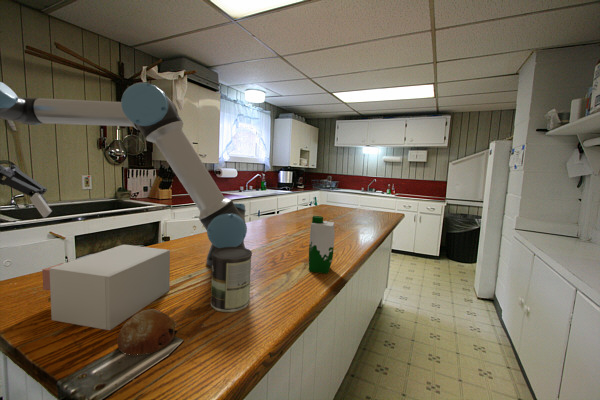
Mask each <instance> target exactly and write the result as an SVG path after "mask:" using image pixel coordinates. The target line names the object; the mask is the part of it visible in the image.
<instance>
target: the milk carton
mask: <svg viewBox="0 0 600 400" xmlns="http://www.w3.org/2000/svg"><path fill="white" fill-rule="evenodd" d="M335 231H336V230H335V222H334V221H327V220H324V216H321V215H313V216H312V219H311V223H310V231H309V246H308V272H311V273H319V274H324V273H325V274H324V275H328V274H329V272H330V268H331V265H332V261H333V258H334V248H335Z"/></svg>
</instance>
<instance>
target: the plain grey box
mask: <svg viewBox="0 0 600 400" xmlns="http://www.w3.org/2000/svg"><path fill="white" fill-rule="evenodd" d="M91 254H92V255H89V254H88V255H89V256H86V255H85V256H86V257H83V256H82V257H83V258H80V257H79V258H80V259H77V258H76V259H77V260H76V259H74V260H71V261H68V262H65V263H64V264H61V263H60V264H61V265H58V264H57V265H58V266H55V265H54V266H55V267H52V266H51V267H52V268H50V311H51V312H50V313H51V315H50V316H51V321H54V322H62V323H67V324H72V325H77V326H83V327H90V328H94V329H98V330H99V329H100V330H106V331H111V330H113V329H114V328H116V327H117V326H118V325H120V324H121V323H123V322H125V321H127V319H128V320H129V318H132V317H133V316H134V315H136V314H138V313H139V312H141V311H142V310H143V309H144V308H145V307H147V306H149V305H150V304H151V303H153V302H154V301H156V300H157V299H159V298H160V297H162V296H164V295H165V294H166V293H168V292H169V291H170V285H171V284H170V277H171V276H170V275H171V269H170V267H171V266H170V264H171V249H165V248H155V247H147V246H139V245H132V244H131V245H130V244H120V245H118V246H115V247H112V248H109V249H106V250H102V251H98V252H95V253H91Z"/></svg>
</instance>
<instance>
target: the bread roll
mask: <svg viewBox="0 0 600 400" xmlns="http://www.w3.org/2000/svg"><path fill="white" fill-rule="evenodd" d="M175 320H176V319H173V317H171V316H169V315H168V314H167V313H165V312H163V311H160V310H157V309H156V308H147V309H145V310H140V311H138V312H137V313H135V314H134V315H132V316H131V317H130V319H129V318H128V320H126V322H125V323H124V324H123V326H122V327H121V328H120V330H119V332H118V336H117V341H116V342H117V347H118V349H119V351H120V352H121V353H122V352H123V354H124V353H126V354H125V355H127V354H130V355H129V356H131V355H136V356H140V355H139V354H144V355H147V354H146V353H150V354H153V353H156V352H158V351H160V350H163V349H164V348H166V347H167V346H168V345H170V343H171V342H172V340H173V339H174V337H175V336H176V335H177V334H178V331H177V330H176V327H177V326H178V323H177V322H175ZM162 348H163V349H162ZM137 354H138V355H137Z"/></svg>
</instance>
